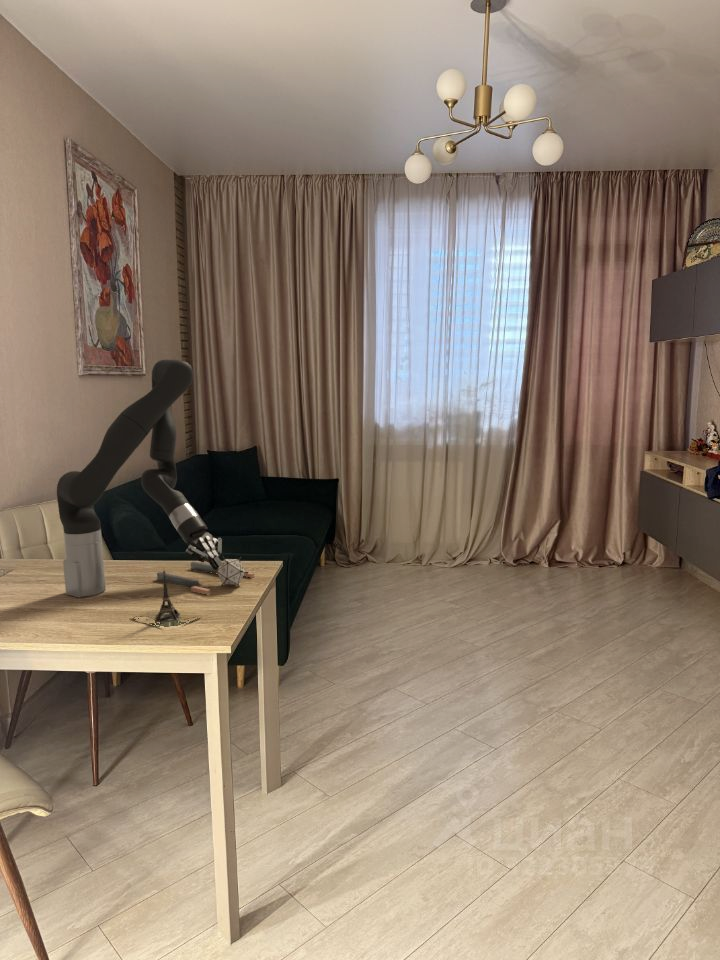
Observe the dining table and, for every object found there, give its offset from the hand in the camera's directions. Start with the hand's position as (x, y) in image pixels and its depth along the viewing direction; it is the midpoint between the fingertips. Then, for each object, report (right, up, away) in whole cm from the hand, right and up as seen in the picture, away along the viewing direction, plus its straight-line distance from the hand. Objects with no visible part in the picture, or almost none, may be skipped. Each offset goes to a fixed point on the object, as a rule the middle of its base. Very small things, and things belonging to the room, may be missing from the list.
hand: (220, 569), depth 178 cm
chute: (-9, -3, +6) cm, 11 cm away
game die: (+4, -4, -2) cm, 6 cm away
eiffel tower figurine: (-8, -9, -26) cm, 29 cm away
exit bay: (+1, -4, 0) cm, 4 cm away
